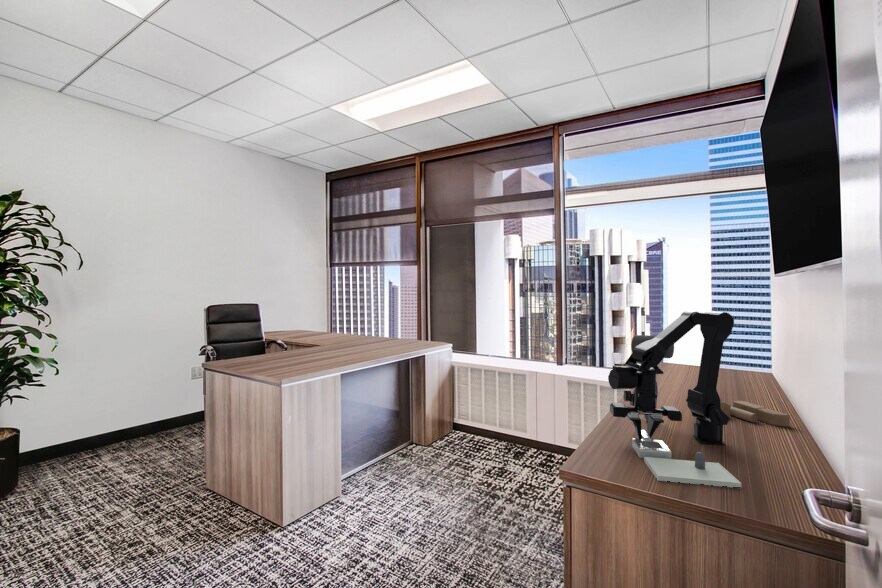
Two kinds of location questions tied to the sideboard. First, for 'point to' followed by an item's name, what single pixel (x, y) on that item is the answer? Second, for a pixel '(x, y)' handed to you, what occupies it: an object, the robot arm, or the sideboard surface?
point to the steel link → (650, 447)
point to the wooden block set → (755, 413)
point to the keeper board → (691, 471)
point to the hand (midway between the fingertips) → (644, 440)
